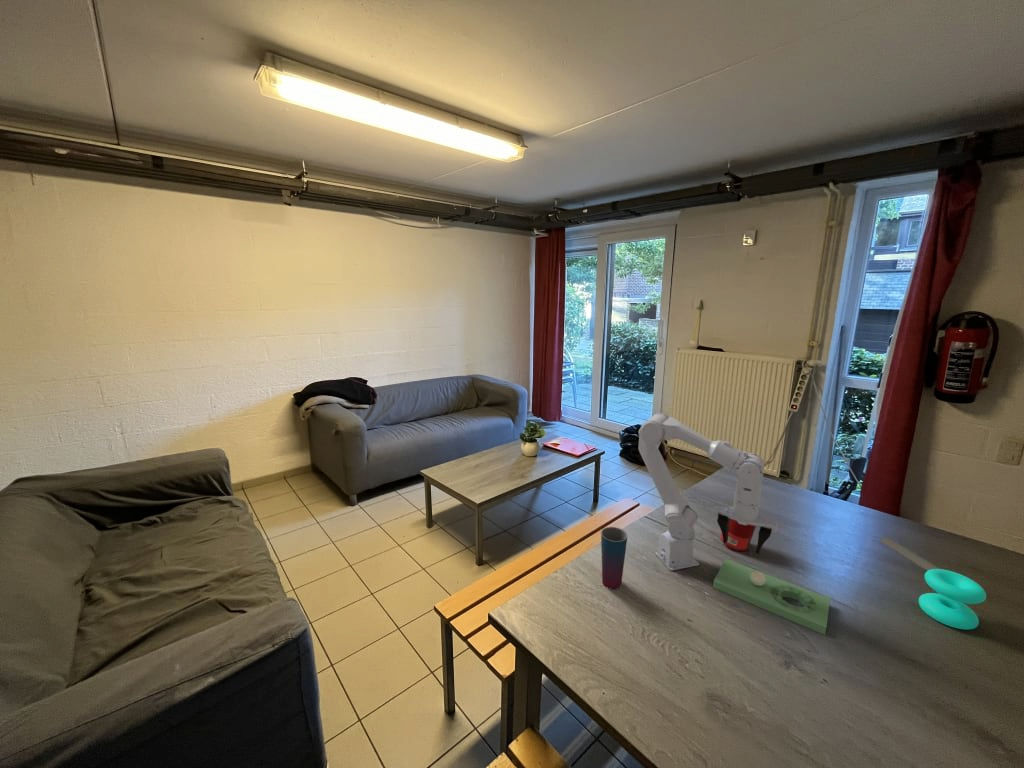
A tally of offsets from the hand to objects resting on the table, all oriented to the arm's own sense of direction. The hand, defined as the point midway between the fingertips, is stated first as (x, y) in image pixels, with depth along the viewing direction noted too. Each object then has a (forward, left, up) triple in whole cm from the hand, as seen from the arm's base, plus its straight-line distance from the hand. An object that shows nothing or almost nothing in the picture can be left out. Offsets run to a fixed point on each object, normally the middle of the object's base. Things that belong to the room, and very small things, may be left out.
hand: (741, 546), depth 109 cm
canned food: (+11, +14, -10) cm, 20 cm away
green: (+3, -7, -10) cm, 13 cm away
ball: (+2, -5, -7) cm, 8 cm away
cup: (-34, +8, -11) cm, 36 cm away
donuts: (+39, -23, -11) cm, 47 cm away
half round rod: (+57, -6, -11) cm, 59 cm away
